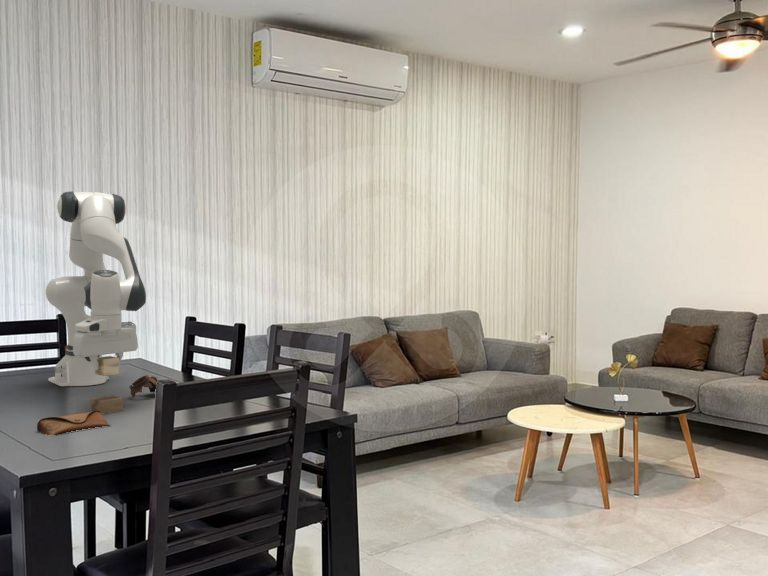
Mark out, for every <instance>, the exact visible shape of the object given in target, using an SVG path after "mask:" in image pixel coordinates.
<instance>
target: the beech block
mask: <svg viewBox="0 0 768 576" xmlns="http://www.w3.org/2000/svg"><path fill="white" fill-rule="evenodd" d="M96 360H97V362H98V364H101V370H95V374H97V375H102V376H112V375H113V376H114V375H119V374H120V367H119V358H118V357H117V356H112V355H106V356H102V357H98V359H96Z"/></svg>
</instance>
